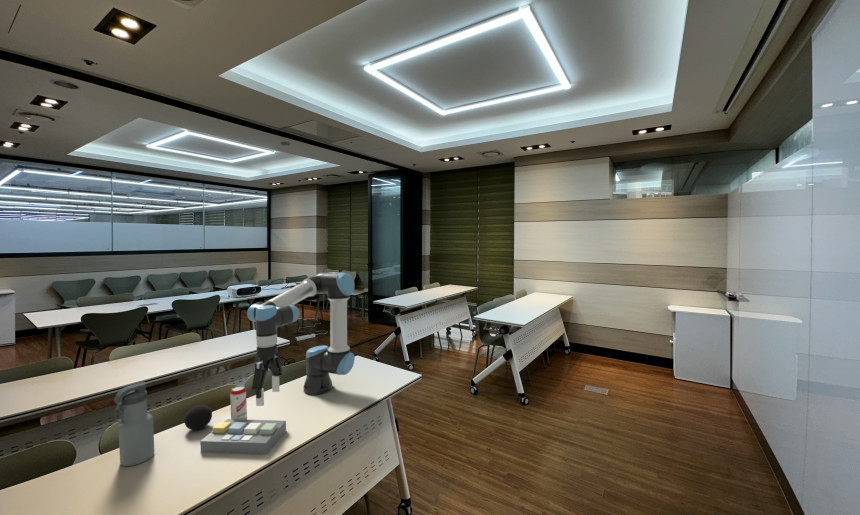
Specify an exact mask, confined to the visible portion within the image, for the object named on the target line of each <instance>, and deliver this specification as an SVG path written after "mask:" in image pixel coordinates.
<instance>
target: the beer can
mask: <svg viewBox="0 0 860 515" xmlns="http://www.w3.org/2000/svg"><path fill="white" fill-rule="evenodd" d="M229 395H230V396H229V397H230V398H229V400H230V419H241V420H248V409H247V408H248V405H247V404H248V403H247V390H246V388H245V385H237V386H234V387H232V388H231V391H230V393H229Z"/></svg>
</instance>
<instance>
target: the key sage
mask: <svg viewBox="0 0 860 515" xmlns="http://www.w3.org/2000/svg"><path fill="white" fill-rule="evenodd" d="M276 430H277V423H266V424H265V425H264V426H263V427H262V428H261V429H260V435H272V434H273V433H274V432H275V431H276Z"/></svg>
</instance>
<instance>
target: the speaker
mask: <svg viewBox="0 0 860 515" xmlns="http://www.w3.org/2000/svg"><path fill="white" fill-rule="evenodd" d="M212 411H213V410H212V409H211V408H210V407H209V406H207V405H206V404H198V405H195V406H193V407H191V408H189V410H188V411H187V412H186V414H185V416H184V418H183V419H184V421H183V422H184V425H185V427H186V428H187V429H188V430H191V431H199V430H201V429H204V428H205V427H206V426H208V425H209V423H210V422H211V421H212V418H213V412H212Z"/></svg>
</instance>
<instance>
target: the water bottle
mask: <svg viewBox="0 0 860 515" xmlns="http://www.w3.org/2000/svg"><path fill="white" fill-rule="evenodd" d="M146 387H147V382H146V381H145V382H144V381H143V382H142V381H141V382H138V383H135V384H131V385H127V386H124V387H122V388H120V390H119V391H117V393H116V394H115V395H114V403H115V404H116V407H115V408H114V409H115V411H114V412H115V419H116V422H118V423H119V424H118V446H119V447H118V448H119V463H120V465H121V466H123V467H131V466H132V467H133V466H137V465H139V464H142V463H144V462H147V461H148V460H150V459H151V458H152V457H153V456H154V454H155V436H154V434H155V433H154V432H155V430H154V418H153V415H152V414H150V413H148V405H147V404H148V402H147V400H148V391H147V389H146ZM122 406H123V409H122ZM119 412H120V417H119Z"/></svg>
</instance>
